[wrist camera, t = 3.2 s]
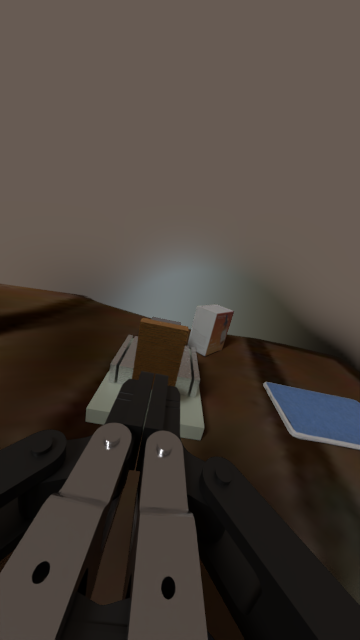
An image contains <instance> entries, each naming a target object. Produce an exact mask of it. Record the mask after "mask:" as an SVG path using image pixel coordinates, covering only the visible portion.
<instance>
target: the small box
mask: <svg viewBox="0 0 360 640" xmlns="http://www.w3.org/2000/svg"><path fill="white" fill-rule="evenodd" d="M233 313H234V311H232V310H229V309H227V308H225V307H222V306H219V305H217V304H214V305H204V306H197V308H196V312H195V317H194V321H193V325H192V329H191V333H190V337H189V341H188V345H187V346H189V347H190V348H191V347H195V348H196V352H198V353H200V354H202V355H203V356H207V355H209V354H212V353H214V352H217V351H219V350H222V348H223V345H224V342H225V339H226V335H227V332H228V329H229V326H230V323H231V319H232V316H233Z"/></svg>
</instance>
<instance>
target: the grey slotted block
mask: <svg viewBox="0 0 360 640" xmlns="http://www.w3.org/2000/svg"><path fill="white" fill-rule="evenodd" d="M137 342H138V336H135V338H134V339H133V335H128V337H127V338H126V340H125V342H124V343H123V345H122V346H121V348H120V350H119V351H118V353H117V354H116V356H115V358H114V359H113V361H112V362H111V364H110V372H109V381H108V383H115V381H116V379H117V377H118V380H117V384H119V385H122V384H123V383H125V382H126V381H127V380H128V379H132V374H133V368H134V361H135V355H136V348H137ZM199 383H200V376H199V369H198V362H197V355H196V348H195V347H191V349H190V352H189V346H185V348H184V352H183V356H182V360H181V364H180V368H179V373H178V377H177V381H176V385H175V387H177V388H178V390H179V392H180V395H182V396H187V395H188V391H189V393H190V397H193V398H195V397H196V393H197V390H198V386H199Z"/></svg>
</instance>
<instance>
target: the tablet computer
mask: <svg viewBox="0 0 360 640" xmlns="http://www.w3.org/2000/svg"><path fill="white" fill-rule="evenodd" d="M263 386H264V388H265V389H266V390H267V393H268V395H269V397H270V398H271V400H272V402H273V404H274V406H275V408H276V409H277V411H278V413H279V415H280V417H281V418H282V420H283V422H284V424H285V426H286V428H287V430H288V431H289V433H290V434H291V435H292V436H294V437H296V438H299V439H304V440H310V441H316V442H322V443H327V444H332V445H337V446H343V447H348V448H353V449H358V450H360V403H359V402H357V401H356V400H353V399H348V398H343V397H338V396H333V395H328V394H323V393H318V392H314V391H309V390H304V389H299V388H294V387H289V386H284V385H279V384H275V383H270V382H265V383H264V384H263Z"/></svg>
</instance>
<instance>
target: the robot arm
mask: <svg viewBox="0 0 360 640" xmlns="http://www.w3.org/2000/svg"><path fill="white" fill-rule="evenodd" d="M168 378H169V376H168V375H162V374H157V373H156V374H155V379H154V373H151V372H145V371H141V373H140V376H139V379H138V380H135V379H128V380H127V381H126V382H125V383H123V384H122V387H121V389H120V391H119V393H118V395H117V398H116V400H115V402H114V404H113V406H112V408H111V411H110V413H109V415H108V417H107V419H106V422H105V424H104V425H103V426H101V427H100V428H98V429H97V430H96V431H95V433H94V434H93V435H91V436H89V437H86V438H81V439H74V440H66V437H65V435H64V434H63V433H61V432H60V431H57V430H43V431H40V432H37V433H35V434H33V435H30V436H28V437H26V438H24V439H22V440H20V441H18V442H16V443H14V444H12V445H10V446H8V447H6V448H4V449H2V450H0V561H1V560H2V559H3V558H5V557H6V556H7V555H8V554H9V553H11V552H12V551H13V550H14V549H15V550H14V552H13V554H12V555H11V557H10V558H9V560H8V562H7V563H6V565H5V566H4V568H3V570H2V571H1V573H0V640H214V639H213V637H212V636H211V635H210V633H209V632H208V631H207V627H206V618H205V609H204V599H203V590H202V581H201V571H200V562H199V557H200V559H201V561H202V562H203V564H204V566H205V568H206V570H207V572H208V573H209V575H210V577H211V579H212V581H213V582H214V584H215V586H216V588H217V590H218V591H219V593H220V595H221V597H222V599H223V601H224V602H225V604H226V606H227V608H228V610H229V611H230V613H231V615H232V617H233V619H234V621H235V622H236V624H237V626H238V628H239V630H240V631H241V633H242V635H243V637H244V639H245V640H360V605H359V604H358V603H357V602H356V601H355V600H354V599H353V598H352V596H351V595H350V594H349V593H348V592H347V591H346V590H345V589H344V587H343V586H342V585H341V584H340V583H339V582H338V581H337V580H336V579H335V577H334V576H333V575H332V574H331V573H330V572H329V571H328V570H327V568H326V567H325V566H324V565H323V564H322V563H321V562H320V561H319V560H318V558H317V557H316V556H315V555H314V554H313V553H312V552H311V551H310V549H309V548H308V547H307V546H306V545H305V544H304V543H303V542H302V541H301V539H300V538H299V537H298V536H297V535H296V534H295V533H294V532H293V530H292V529H291V528H290V527H289V526H288V525H287V524H286V523H285V522H284V520H283V519H282V518H281V517H280V516H279V515H278V514H277V513H276V511H275V510H274V509H273V508H272V507H271V506H270V505H269V504H268V503H267V501H266V500H265V499H264V498H263V497H262V496H261V495H260V494H259V492H258V491H257V490H256V489H255V488H254V487H253V486H252V485H251V484H250V482H249V481H248V480H247V479H246V478H245V477H244V476H243V475H242V473H241V472H240V471H239V470H238V469H237V468H236V467H235V466H234V465H233V464H232V463H231V462H230V461H228V460H227V459H225V458H222V457H211V458H209V459H208V460H207V461H206V462H205V461H203V460H201V459H199V458H197V457H195V456H193V455H192V454H190V453H189V452H188V451H187V450H186V449H185V448H184V446H183V444H182V442H181V439H180V392H179V390H178V388H177V387H175V386H169V385H168ZM153 379H154V383H153ZM152 384H153V388H152ZM151 390H152V392H151ZM150 395H151V397H150ZM149 400H150V402H149ZM148 405H149V406H148ZM147 410H148V411H147ZM146 414H147V415H146ZM145 419H146V420H145ZM144 423H145V425H144ZM143 428H144V429H143ZM142 432H143V435H142ZM141 437H142V440H141ZM140 442H141V445H140ZM139 446H140V451H139ZM138 451H139V456H138V461H137V467H136V471H140V476H139V482H138V487H137V492H136V498H135V506H134V515H133V523H132V531H131V539H130V547H129V555H128V563H127V570H126V576H125V582H124V589H123V596H122V600H121V601H117V602H114V603H111V604H108V605H99V604H97V603H95V602H93V601H92V600H90V599H91V595H92V592H93V589H94V585H95V581H96V578H97V574H98V569H99V566H100V562H101V558H102V555H103V552H104V549H105V546H106V542H107V539H108V536H109V533H110V530H111V527H112V524H113V520H114V517H115V514H116V511H117V508H118V505H119V502H120V498H121V495H122V492H123V488H124V486H125V484H126V480H127V476H128V472H129V470H134V469H135V464H136V460H137V455H138Z"/></svg>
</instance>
